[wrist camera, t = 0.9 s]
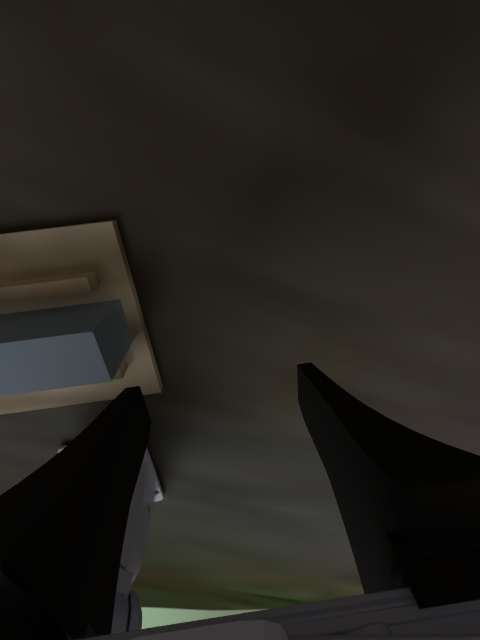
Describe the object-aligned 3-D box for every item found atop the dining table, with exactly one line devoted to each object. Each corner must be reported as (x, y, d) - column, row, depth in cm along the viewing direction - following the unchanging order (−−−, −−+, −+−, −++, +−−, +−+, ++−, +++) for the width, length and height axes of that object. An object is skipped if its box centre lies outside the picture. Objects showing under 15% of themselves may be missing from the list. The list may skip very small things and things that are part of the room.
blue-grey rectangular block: (133, 341, 22) (111, 381, 17) (2, 358, 22) (-55, 403, 17) (120, 299, 20) (92, 331, 16) (-22, 317, 20) (-90, 355, 15)
